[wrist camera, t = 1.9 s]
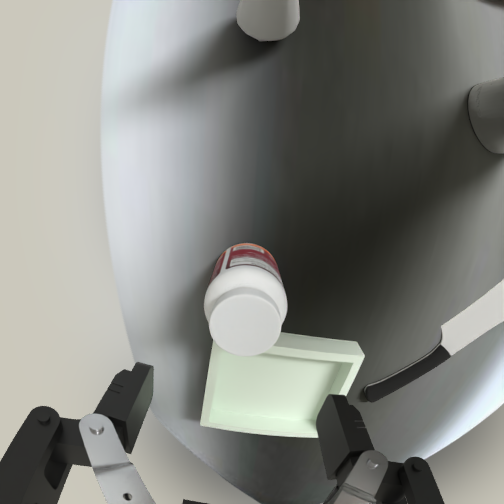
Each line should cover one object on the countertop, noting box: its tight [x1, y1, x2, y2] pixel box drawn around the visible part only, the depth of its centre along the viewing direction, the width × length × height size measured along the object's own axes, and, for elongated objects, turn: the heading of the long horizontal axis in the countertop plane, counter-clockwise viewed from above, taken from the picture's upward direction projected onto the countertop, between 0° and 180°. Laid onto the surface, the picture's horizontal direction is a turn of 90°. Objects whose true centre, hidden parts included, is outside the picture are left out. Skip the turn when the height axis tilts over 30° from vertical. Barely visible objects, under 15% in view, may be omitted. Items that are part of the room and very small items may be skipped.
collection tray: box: [200, 332, 365, 438], centre depth 31 cm, size 16×14×3 cm
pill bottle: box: [204, 243, 287, 357], centre depth 24 cm, size 6×6×11 cm
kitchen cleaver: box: [364, 279, 504, 402], centre depth 31 cm, size 31×2×10 cm
